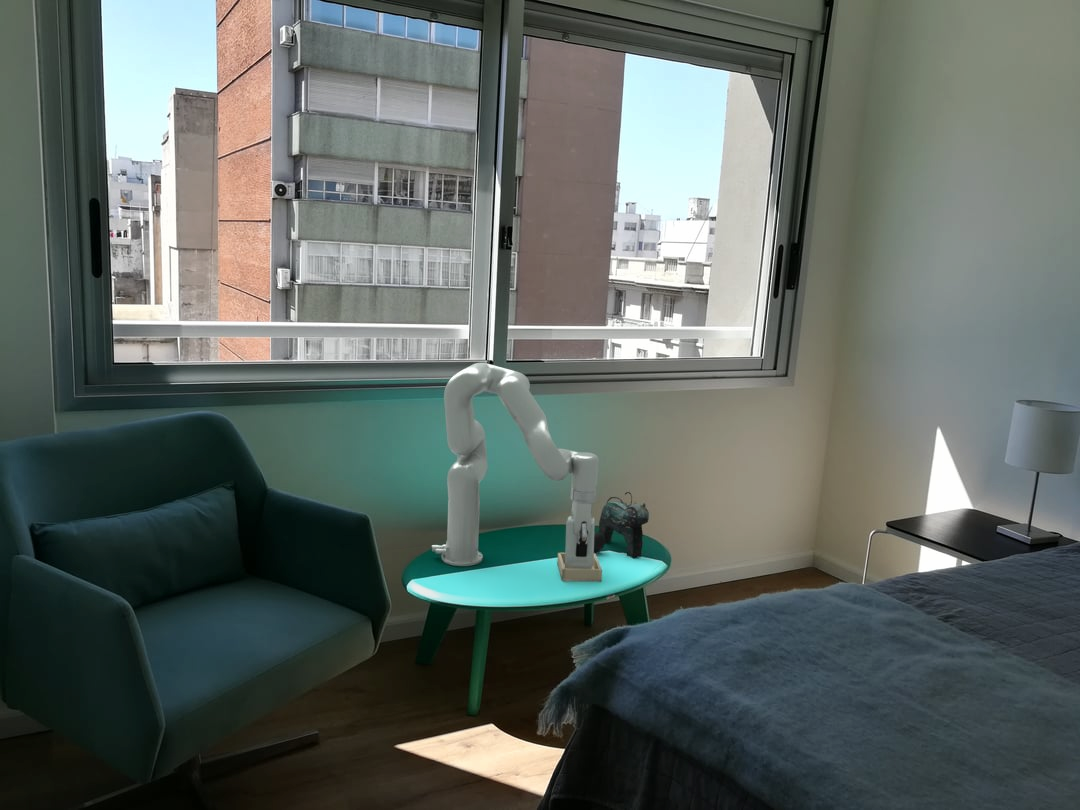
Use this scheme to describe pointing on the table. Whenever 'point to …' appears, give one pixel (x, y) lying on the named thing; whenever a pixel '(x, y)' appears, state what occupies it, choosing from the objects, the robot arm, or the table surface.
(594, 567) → the holder
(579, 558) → the skincare box
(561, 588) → the table surface
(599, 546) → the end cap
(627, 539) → the ceramic cat
